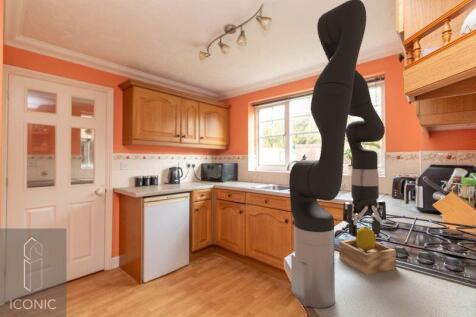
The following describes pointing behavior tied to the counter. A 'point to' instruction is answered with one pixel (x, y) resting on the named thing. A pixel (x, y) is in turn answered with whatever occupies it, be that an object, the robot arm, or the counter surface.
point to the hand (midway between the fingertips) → (364, 234)
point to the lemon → (365, 239)
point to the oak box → (367, 257)
